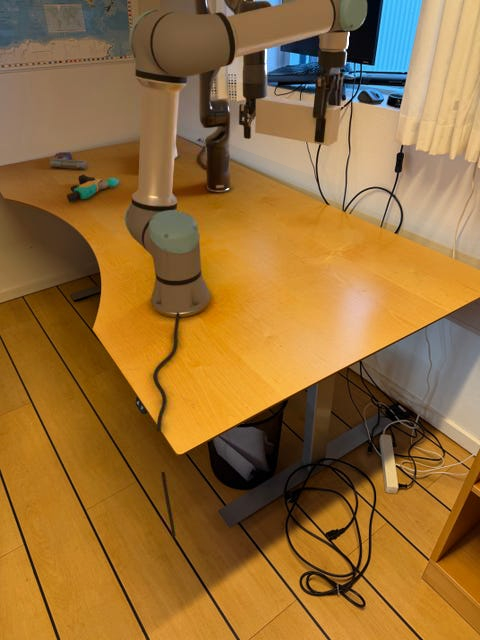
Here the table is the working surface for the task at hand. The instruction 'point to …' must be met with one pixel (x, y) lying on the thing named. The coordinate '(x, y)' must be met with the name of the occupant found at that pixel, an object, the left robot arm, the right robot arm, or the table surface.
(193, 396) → the table surface
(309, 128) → the box
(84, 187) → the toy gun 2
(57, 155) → the toy gun
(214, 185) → the right robot arm
